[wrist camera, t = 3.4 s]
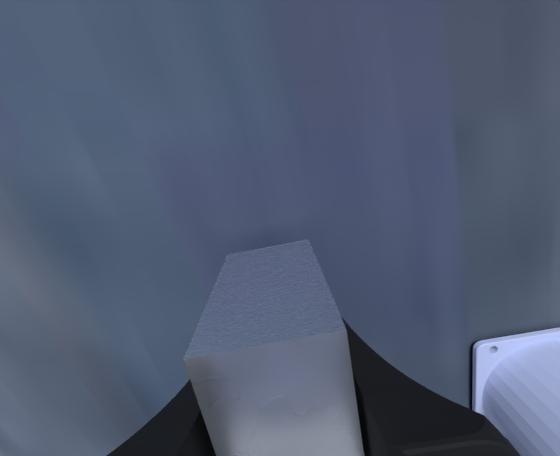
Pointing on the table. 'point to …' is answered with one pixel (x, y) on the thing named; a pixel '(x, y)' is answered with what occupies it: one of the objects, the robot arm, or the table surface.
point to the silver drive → (274, 359)
